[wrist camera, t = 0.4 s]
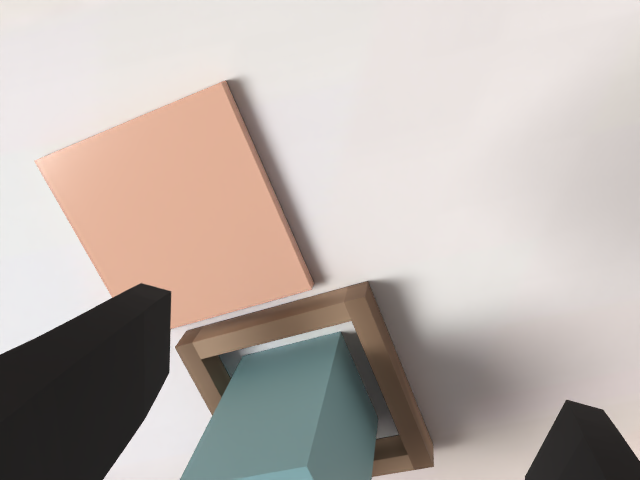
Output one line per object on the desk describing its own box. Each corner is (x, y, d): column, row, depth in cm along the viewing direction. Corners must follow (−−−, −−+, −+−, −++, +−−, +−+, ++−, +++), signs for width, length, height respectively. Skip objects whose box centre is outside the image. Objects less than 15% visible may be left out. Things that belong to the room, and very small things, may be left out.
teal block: (283, 436, 25) (235, 588, 18) (242, 355, 23) (175, 489, 17) (378, 418, 23) (360, 574, 17) (340, 331, 22) (306, 466, 16)
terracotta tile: (141, 332, 24) (135, 338, 23) (42, 157, 21) (34, 160, 21) (313, 283, 21) (311, 289, 21) (225, 80, 19) (220, 82, 18)
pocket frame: (263, 474, 26) (256, 495, 25) (186, 330, 23) (174, 347, 22) (433, 444, 23) (433, 466, 22) (368, 281, 21) (364, 296, 20)
